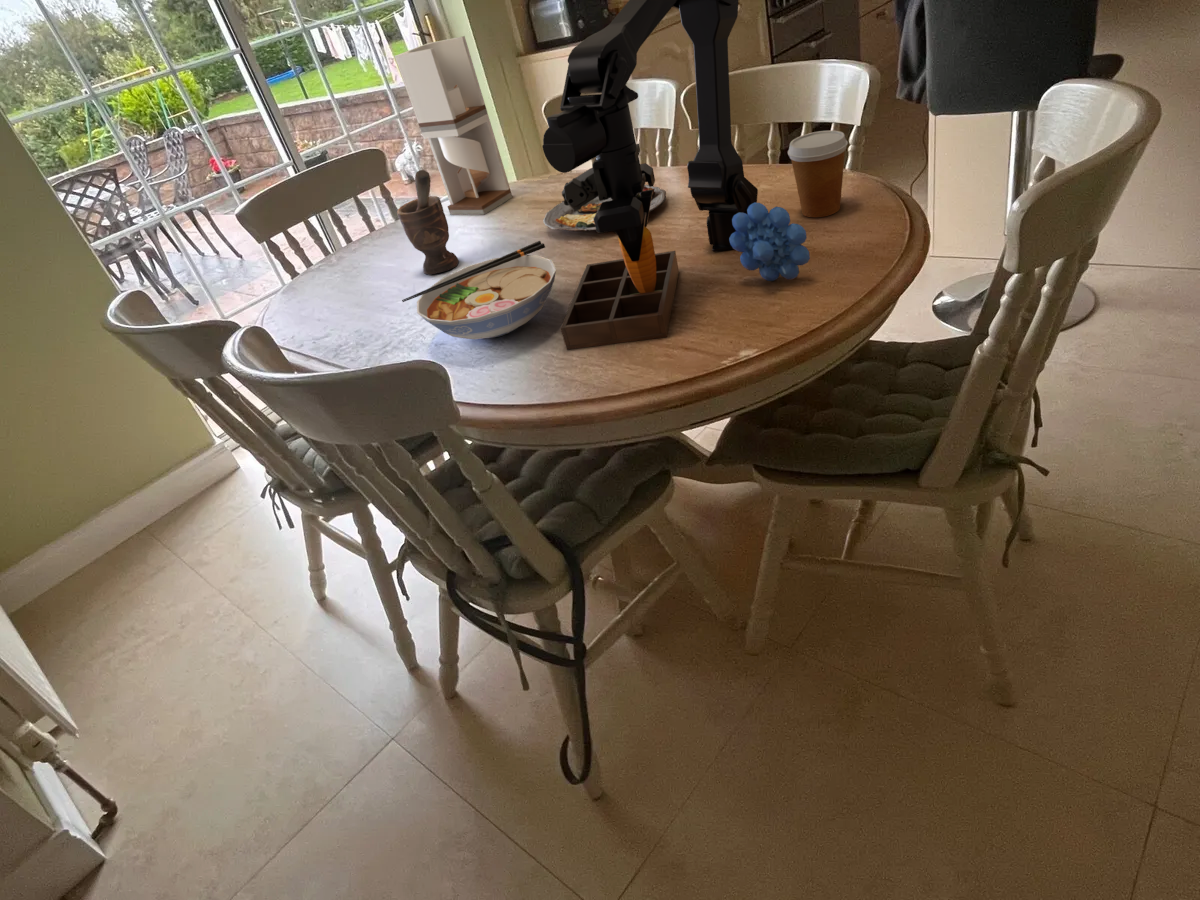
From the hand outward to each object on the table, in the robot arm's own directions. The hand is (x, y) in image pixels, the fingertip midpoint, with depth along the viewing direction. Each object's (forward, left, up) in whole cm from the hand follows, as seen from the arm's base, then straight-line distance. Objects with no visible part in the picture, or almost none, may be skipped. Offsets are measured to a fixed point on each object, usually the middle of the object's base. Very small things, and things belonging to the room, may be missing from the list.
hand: (637, 253), depth 110 cm
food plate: (+14, -43, -9) cm, 46 cm away
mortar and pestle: (+45, -29, -9) cm, 54 cm away
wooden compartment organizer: (+4, 0, -8) cm, 9 cm away
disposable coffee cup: (-27, -27, -9) cm, 40 cm away
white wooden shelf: (+49, -66, -9) cm, 83 cm away
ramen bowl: (+25, +1, -9) cm, 26 cm away
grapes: (-18, -1, -9) cm, 20 cm away
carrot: (0, +1, -8) cm, 8 cm away
